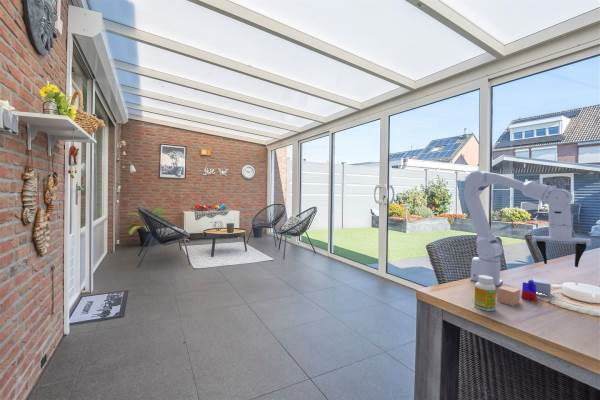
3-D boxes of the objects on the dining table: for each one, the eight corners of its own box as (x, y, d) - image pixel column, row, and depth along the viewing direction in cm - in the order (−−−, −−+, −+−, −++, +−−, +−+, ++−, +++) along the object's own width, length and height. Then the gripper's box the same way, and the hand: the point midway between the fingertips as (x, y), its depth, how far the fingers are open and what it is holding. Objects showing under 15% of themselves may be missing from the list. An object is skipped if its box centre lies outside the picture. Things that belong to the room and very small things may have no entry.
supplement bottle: (488, 312, 85) (489, 280, 85) (470, 306, 90) (471, 275, 89) (498, 309, 87) (500, 278, 87) (480, 302, 92) (481, 273, 92)
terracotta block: (497, 301, 94) (497, 287, 94) (503, 298, 96) (503, 285, 96) (513, 306, 90) (513, 292, 90) (519, 303, 93) (519, 289, 92)
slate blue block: (533, 294, 101) (533, 281, 100) (531, 290, 104) (531, 278, 104) (549, 297, 98) (550, 284, 98) (547, 292, 102) (547, 280, 102)
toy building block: (521, 302, 97) (522, 284, 94) (522, 293, 100) (523, 275, 97) (535, 304, 95) (536, 286, 92) (535, 295, 98) (536, 278, 95)
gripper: (531, 224, 98) (532, 264, 98) (591, 226, 89) (592, 270, 89) (532, 223, 103) (533, 260, 104) (589, 224, 94) (590, 266, 94)
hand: (560, 264), depth 96 cm, fingers open, 7 cm apart
